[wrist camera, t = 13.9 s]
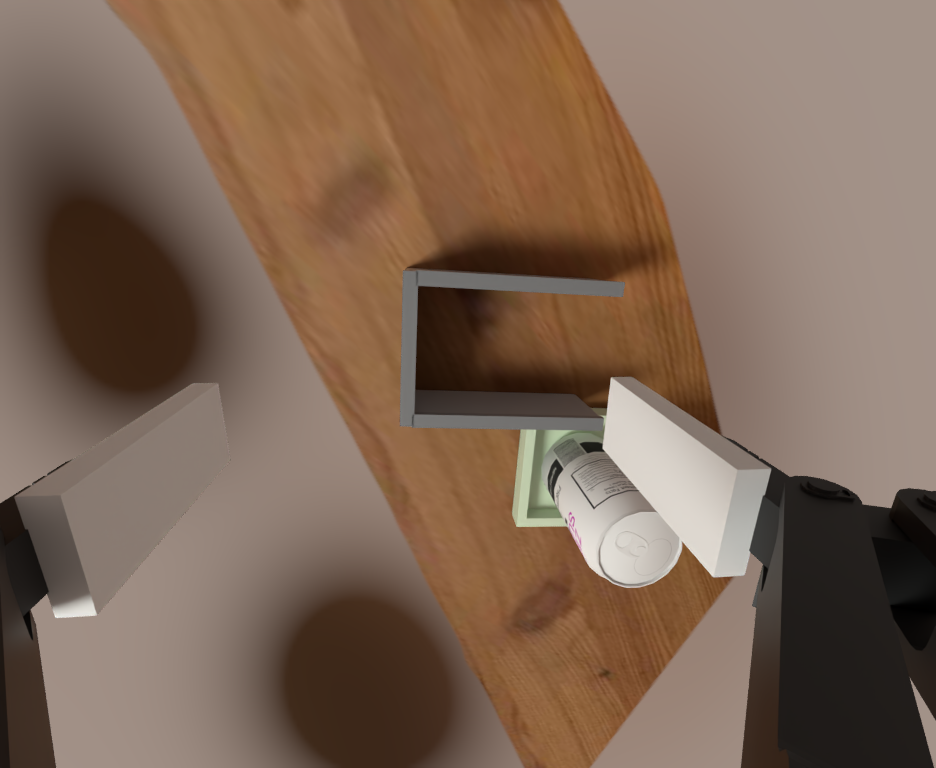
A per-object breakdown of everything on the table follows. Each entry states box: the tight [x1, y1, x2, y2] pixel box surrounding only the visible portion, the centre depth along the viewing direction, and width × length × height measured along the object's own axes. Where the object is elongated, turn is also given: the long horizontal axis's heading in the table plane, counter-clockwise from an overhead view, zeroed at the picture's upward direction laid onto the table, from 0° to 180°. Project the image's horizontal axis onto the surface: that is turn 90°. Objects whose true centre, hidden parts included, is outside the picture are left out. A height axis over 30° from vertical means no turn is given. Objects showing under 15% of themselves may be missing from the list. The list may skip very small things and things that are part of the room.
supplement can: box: [541, 433, 682, 588], centre depth 42 cm, size 8×8×15 cm
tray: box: [512, 408, 607, 527], centre depth 49 cm, size 13×13×2 cm
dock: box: [400, 268, 625, 431], centre depth 41 cm, size 13×18×8 cm
